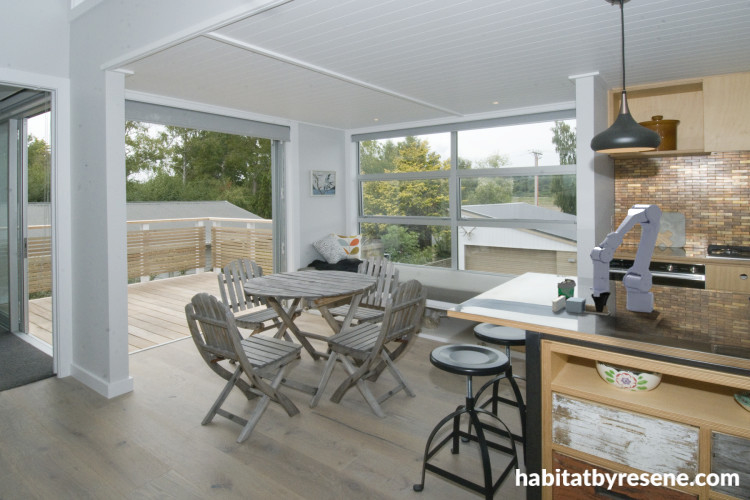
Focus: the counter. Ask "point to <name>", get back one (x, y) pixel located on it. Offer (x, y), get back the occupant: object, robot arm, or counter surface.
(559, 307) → the wall
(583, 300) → the block
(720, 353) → the counter surface
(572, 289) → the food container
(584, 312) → the cradle
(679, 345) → the counter surface
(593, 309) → the dowel
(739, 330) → the counter surface
